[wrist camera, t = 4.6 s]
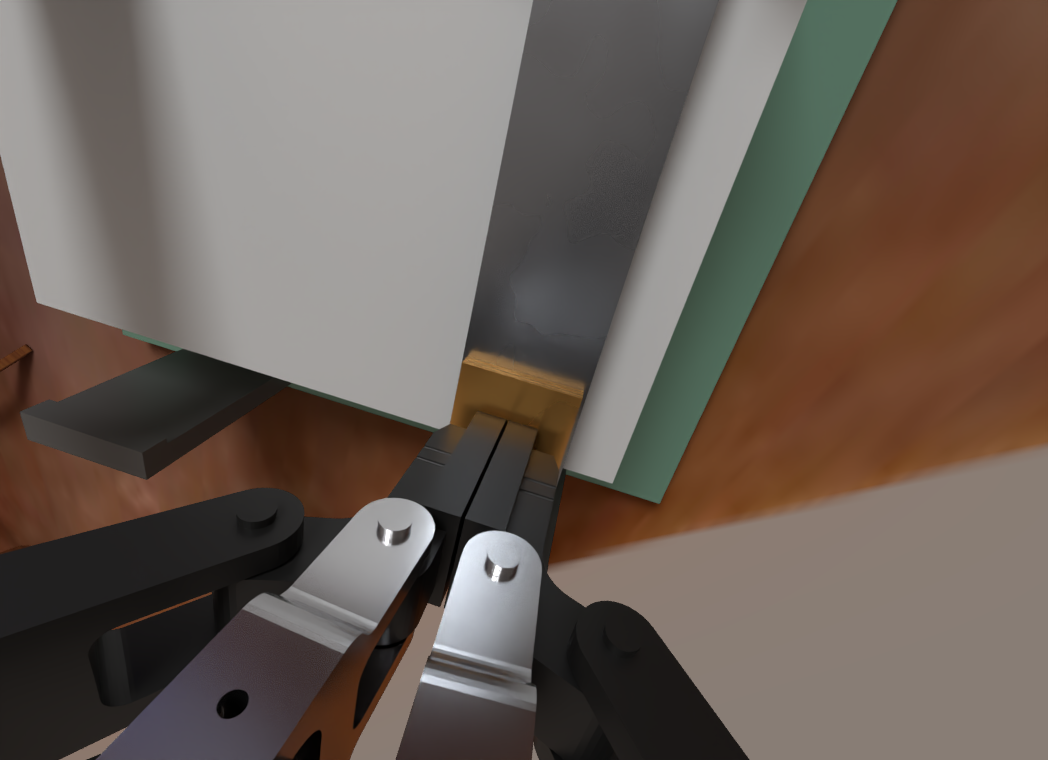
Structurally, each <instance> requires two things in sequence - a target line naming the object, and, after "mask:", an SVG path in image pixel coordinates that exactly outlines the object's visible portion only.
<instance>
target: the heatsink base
mask: <svg viewBox="0 0 1048 760" xmlns="http://www.w3.org/2000/svg"><path fill="white" fill-rule="evenodd" d="M896 2H897V0H719V2H718V5H717V8H716V11H715V14H714V17H713V20H712V23H711V26H710V29H709V32H708V35H707V38H706V41H705V44H704V47H703V50H702V53H701V56H700V59H699V62H698V65H697V68H696V71H695V74H694V77H693V80H692V83H691V86H690V89H689V92H688V95H687V98H686V101H685V104H684V107H683V110H682V113H681V115H680V118H679V121H678V124H677V127H676V130H675V133H674V136H673V139H672V142H671V145H670V148H669V151H668V154H667V157H666V160H665V163H664V166H663V169H662V172H661V175H660V178H659V181H658V184H657V187H656V190H655V193H654V196H653V199H652V202H651V205H650V208H649V211H648V214H647V217H646V220H645V223H644V226H643V229H642V232H641V235H640V238H639V241H638V244H637V247H636V250H635V253H634V256H633V259H632V262H631V265H630V268H629V271H628V274H627V277H626V280H625V283H624V286H623V289H622V292H621V295H620V298H619V301H618V304H617V307H616V310H615V313H614V316H613V319H612V322H611V325H610V328H609V331H608V334H607V337H606V340H605V343H604V346H603V349H602V352H601V355H600V358H599V361H598V364H597V367H596V370H595V373H594V376H593V379H592V382H591V385H590V388H589V391H588V394H587V397H586V400H585V403H584V406H583V409H582V412H581V415H580V418H579V421H578V424H577V427H576V430H575V433H574V436H573V439H572V442H571V445H570V448H569V451H568V454H567V457H566V460H565V463H564V466H563V469H562V472H561V475H560V478H559V481H558V484H557V487H556V491H555V496H554V500H553V505H552V510H551V515H550V520H549V524H548V529H547V534H546V539H545V544H544V548H543V563H544V567H545V570H546V572H547V570H548V561H549V556H550V551H551V546H552V541H553V536H554V531H555V526H556V521H557V516H558V511H559V505H560V500H561V495H562V490H563V485H564V480H565V475H570V476H573V477H576V478H579V479H582V480H585V481H589V482H592V483H595V484H598V485H601V486H604V487H608V488H611V489H614V490H617V491H620V492H623V493H627V494H630V495H633V496H636V497H639V498H642V499H646V500H649V501H652V502H655V503H658V504H660V502H661V499H662V497H663V495H664V493H665V491H666V489H667V487H668V485H669V482H670V480H671V478H672V476H673V474H674V472H675V470H676V468H677V466H678V463H679V461H680V459H681V457H682V455H683V453H684V451H685V449H686V447H687V444H688V442H689V440H690V438H691V436H692V434H693V432H694V430H695V427H696V425H697V423H698V421H699V419H700V417H701V415H702V413H703V411H704V408H705V406H706V404H707V402H708V400H709V398H710V396H711V394H712V392H713V389H714V387H715V385H716V383H717V381H718V379H719V377H720V375H721V372H722V370H723V368H724V366H725V364H726V362H727V360H728V358H729V356H730V353H731V351H732V349H733V347H734V345H735V343H736V341H737V339H738V337H739V334H740V332H741V330H742V328H743V326H744V324H745V322H746V320H747V317H748V315H749V313H750V311H751V309H752V307H753V305H754V303H755V301H756V298H757V296H758V294H759V292H760V290H761V288H762V286H763V284H764V282H765V279H766V277H767V275H768V273H769V271H770V269H771V267H772V265H773V262H774V260H775V258H776V256H777V254H778V252H779V250H780V248H781V246H782V243H783V241H784V239H785V237H786V235H787V233H788V231H789V229H790V227H791V224H792V222H793V220H794V218H795V216H796V214H797V212H798V210H799V207H800V205H801V203H802V201H803V199H804V197H805V195H806V193H807V191H808V188H809V186H810V184H811V182H812V180H813V178H814V176H815V174H816V172H817V169H818V167H819V165H820V163H821V161H822V159H823V157H824V155H825V152H826V150H827V148H828V146H829V144H830V142H831V140H832V138H833V136H834V133H835V131H836V129H837V127H838V125H839V123H840V121H841V119H842V117H843V114H844V112H845V110H846V108H847V106H848V104H849V102H850V100H851V97H852V95H853V93H854V91H855V89H856V87H857V85H858V83H859V81H860V78H861V76H862V74H863V72H864V70H865V68H866V66H867V64H868V62H869V59H870V57H871V55H872V53H873V51H874V49H875V47H876V45H877V42H878V40H879V38H880V36H881V34H882V32H883V30H884V28H885V26H886V23H887V21H888V19H889V17H890V15H891V13H892V11H893V9H894V7H895V4H896ZM532 3H533V0H0V155H1V159H2V163H3V167H4V171H5V175H6V179H7V183H8V187H9V191H10V195H11V200H12V204H13V208H14V212H15V216H16V220H17V224H18V228H19V232H20V236H21V240H22V244H23V248H24V252H25V256H26V260H27V264H28V268H29V272H30V276H31V280H32V285H33V289H34V293H35V297H36V301H37V303H40V304H43V305H46V306H50V307H53V308H56V309H59V310H62V311H66V312H69V313H72V314H75V315H78V316H81V317H85V318H88V319H91V320H94V321H97V322H100V323H104V324H107V325H110V326H113V327H116V328H120V329H122V332H123V335H126V336H129V337H133V338H136V339H139V340H142V341H145V342H148V343H152V344H155V345H158V346H161V347H164V348H167V349H171V350H174V351H176V352H174V353H172V354H169V355H167V356H165V357H162V358H160V359H158V360H155V361H153V362H151V363H148V364H146V365H143V366H141V367H139V368H136V369H134V370H132V371H129V372H127V373H125V374H122V375H120V376H118V377H115V378H113V379H111V380H108V381H106V382H104V383H101V384H99V385H97V386H94V387H92V388H89V389H87V390H85V391H82V392H80V393H78V394H75V395H73V396H71V397H68V398H66V399H64V400H61V401H59V402H55V401H52V400H47V401H45V402H42V403H40V404H37V405H35V406H32V407H30V408H28V409H25V410H23V411H20V414H21V418H22V421H23V425H24V428H25V431H26V435H27V438H28V440H31V441H34V442H37V443H40V444H43V445H46V446H49V447H52V448H54V449H57V450H60V451H63V452H66V453H69V454H72V455H75V456H78V457H81V458H84V459H87V460H90V461H93V462H96V463H99V464H102V465H105V466H107V467H110V468H113V469H116V470H119V471H122V472H125V473H128V474H131V475H134V476H137V477H140V478H143V479H146V480H147V479H149V478H150V477H152V476H153V475H155V474H156V473H158V472H159V471H161V470H162V469H164V468H165V467H167V466H168V465H170V464H171V463H173V462H174V461H176V460H177V459H179V458H180V457H182V456H183V455H185V454H186V453H188V452H189V451H191V450H192V449H194V448H195V447H197V446H198V445H200V444H201V443H203V442H204V441H206V440H207V439H209V438H210V437H212V436H213V435H215V434H216V433H218V432H219V431H221V430H222V429H224V428H225V427H227V426H228V425H230V424H231V423H233V422H234V421H236V420H237V419H239V418H240V417H242V416H243V415H245V414H246V413H248V412H249V411H251V410H252V409H254V408H255V407H257V406H258V405H260V404H261V403H263V402H264V401H266V400H267V399H269V398H270V397H272V396H273V395H275V394H276V393H278V392H279V391H281V390H282V389H284V388H285V387H287V386H288V387H291V388H294V389H297V390H300V391H304V392H307V393H310V394H313V395H316V396H319V397H323V398H326V399H329V400H332V401H335V402H338V403H342V404H345V405H348V406H351V407H354V408H357V409H361V410H364V411H367V412H370V413H373V414H376V415H380V416H383V417H386V418H389V419H392V420H395V421H399V422H402V423H405V424H408V425H411V426H414V427H418V428H421V429H424V430H427V431H430V432H433V433H434V432H435V431H437V430H439V429H441V428H443V427H445V426H447V425H449V424H450V420H451V415H452V410H453V405H454V400H455V394H456V389H457V384H458V379H459V374H460V369H461V364H462V359H463V354H464V349H465V344H466V339H467V334H468V328H469V323H470V318H471V313H472V308H473V303H474V298H475V293H476V288H477V283H478V278H479V273H480V268H481V262H482V257H483V252H484V247H485V242H486V237H487V232H488V227H489V222H490V217H491V212H492V207H493V201H494V196H495V191H496V186H497V181H498V176H499V171H500V166H501V161H502V156H503V151H504V146H505V141H506V135H507V130H508V125H509V120H510V115H511V110H512V105H513V100H514V95H515V90H516V85H517V80H518V74H519V69H520V64H521V59H522V54H523V49H524V44H525V39H526V34H527V29H528V24H529V19H530V14H531V8H532Z"/></svg>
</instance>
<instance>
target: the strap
mask: <svg viewBox="0 0 1048 760" xmlns="http://www.w3.org/2000/svg"><path fill="white" fill-rule="evenodd" d="M718 2H719V0H533V3H532V8H531V14H530V19H529V24H528V29H527V34H526V39H525V44H524V49H523V54H522V59H521V64H520V69H519V74H518V80H517V85H516V90H515V95H514V100H513V105H512V110H511V115H510V120H509V125H508V130H507V135H506V141H505V146H504V151H503V156H502V161H501V166H500V171H499V176H498V181H497V186H496V191H495V196H494V201H493V207H492V212H491V217H490V222H489V227H488V232H487V237H486V242H485V247H484V252H483V257H482V262H481V268H480V273H479V278H478V283H477V288H476V293H475V298H474V303H473V308H472V313H471V318H470V323H469V328H468V334H467V339H466V344H465V349H464V354H463V359H462V364H461V369H460V374H459V379H458V384H457V389H456V394H455V400H454V405H453V410H452V415H451V420H450V424H453V425H456V426H459V427H462V428H465V429H467V427H468V426H469V424H470V422H471V420H472V419H473V417H474V415H475V414H476V412H477V411H481V412H484V413H487V414H491V415H494V416H497V417H500V418H503V419H507V423H506V426H507V424H508V422H509V420H510V421H514V422H517V423H520V424H523V425H527V426H530V427H533V428H536V429H538V432H537V435H536V439H535V442H534V446H533V450H536V451H539V452H543V453H546V454H549V455H552V456H554V458H555V461H556V463H557V466H558V469H559V471H560V472H559V477H558V481H559V478H560V475H561V472H562V469H563V466H564V463H565V460H566V457H567V454H568V451H569V448H570V445H571V442H572V439H573V436H574V433H575V430H576V427H577V424H578V421H579V418H580V415H581V412H582V409H583V406H584V403H585V400H586V397H587V394H588V391H589V388H590V385H591V382H592V379H593V376H594V373H595V370H596V367H597V364H598V361H599V358H600V355H601V352H602V349H603V346H604V343H605V340H606V337H607V334H608V331H609V328H610V325H611V322H612V319H613V316H614V313H615V310H616V307H617V304H618V301H619V298H620V295H621V292H622V289H623V286H624V283H625V280H626V277H627V274H628V271H629V268H630V265H631V262H632V259H633V256H634V253H635V250H636V247H637V244H638V241H639V238H640V235H641V232H642V229H643V226H644V223H645V220H646V217H647V214H648V211H649V208H650V205H651V202H652V199H653V196H654V193H655V190H656V187H657V184H658V181H659V178H660V175H661V172H662V169H663V166H664V163H665V160H666V157H667V154H668V151H669V148H670V145H671V142H672V139H673V136H674V133H675V130H676V127H677V124H678V121H679V118H680V115H681V113H682V110H683V107H684V104H685V101H686V98H687V95H688V92H689V89H690V86H691V83H692V80H693V77H694V74H695V71H696V68H697V65H698V62H699V59H700V56H701V53H702V50H703V47H704V44H705V41H706V38H707V35H708V32H709V29H710V26H711V23H712V20H713V17H714V14H715V11H716V8H717V5H718ZM505 428H506V427H505ZM558 481H557V484H558ZM556 487H557V486H556Z"/></svg>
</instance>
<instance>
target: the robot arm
mask: <svg viewBox="0 0 1048 760" xmlns="http://www.w3.org/2000/svg"><path fill="white" fill-rule="evenodd" d="M506 423H507V419H503V418H500V417H497V416H494V415H491V414H487V413H484V412H481V411H477V412H476V414H475V415H474V417H473V419H472V420H471V422H470V424H469V426H468V427H467V429H465V428H462V427H459V426H456V425H453V424H449V425H447V426H445V427H443V428H441V429H439V430H437V431H435V432H434V433H433V434H432V436H431V437H430V439H429V440H428V441H427V443H426V444H425V446H424V448H422V450H421V451H420V453H419V454H418V455H417V458H416V459H415V460H414V461H413V462H412V464H411V465H410V467H409V468H408V469H407V471H406V472H405V474H404V475H403V476H402V478H401V479H400V481H399V482H398V484H397V485H396V486H395V488H394V489H393V491H392V492H391V493H390V495H389V496H388V498H385V499H380V500H377V501H374V502H372V503H369V504H368V505H366V506H365V507H363V508H362V509H361V510H360V511H359V512H358V513H357V514H356V515H355V516H354V517H353V518H344V519H333V518H316V517H304V507H303V505H302V503H301V502H300V500H299V499H298V498H297V497H296V496H294V495H293V494H291V493H289V492H286V491H284V490H280V489H275V488H256V489H250V490H245V491H241V492H237V493H233V494H230V495H226V496H222V497H218V498H214V499H210V500H206V501H203V502H199V503H195V504H191V505H187V506H183V507H180V508H176V509H172V510H168V511H164V512H160V513H157V514H153V515H149V516H145V517H141V518H137V519H134V520H130V521H126V522H122V523H118V524H114V525H110V526H107V527H103V528H99V529H95V530H91V531H87V532H84V533H80V534H76V535H72V536H68V537H64V538H61V539H57V540H53V541H49V542H45V543H41V544H38V545H34V546H30V547H26V548H22V549H18V550H15V551H11V552H7V553H3V554H0V760H59V759H61V758H63V757H66V756H68V755H70V754H72V753H74V752H76V751H78V750H80V749H82V748H84V747H86V746H88V745H90V744H93V743H95V742H97V741H99V740H101V739H103V738H105V737H107V736H109V735H111V734H113V733H115V732H117V731H120V730H121V729H123V728H126V727H127V728H126V729H125V730H124V731H123V732H122V733H121V734H120V735H119V736H118V737H117V738H116V739H115V740H114V741H113V742H112V743H111V744H110V745H109V746H108V747H107V748H106V750H105V751H104V752H103V753H102V754H99V755H97V756H94V757H92V758H90V759H87V760H350V758H351V755H352V753H353V750H354V748H355V746H356V743H357V741H358V739H359V737H360V735H361V733H362V732H363V730H364V728H365V726H366V724H367V722H368V721H369V719H370V717H371V715H372V713H373V711H374V709H375V708H376V705H377V704H378V702H379V700H380V698H381V696H382V694H383V693H384V691H385V689H386V687H387V685H388V683H389V682H390V680H391V678H392V676H393V674H394V672H395V670H396V668H397V667H398V665H399V663H400V661H401V659H402V657H403V656H404V654H405V652H406V650H407V648H408V646H409V644H410V643H411V640H412V638H413V634H414V630H415V628H416V627H417V625H418V623H419V621H420V619H421V617H422V614H423V612H424V610H425V608H426V606H427V603H430V604H432V605H435V606H438V607H440V606H441V603H442V601H443V599H444V596H445V594H446V591H447V589H448V592H447V596H446V601H445V605H444V608H445V610H444V613H443V617H442V620H441V623H440V626H439V629H438V633H437V636H436V639H435V642H434V646H433V649H432V652H431V655H430V656H429V657H428V660H427V662H426V665H425V668H424V671H423V674H422V677H421V680H420V683H419V686H418V690H417V693H416V696H415V699H414V702H413V706H412V709H411V712H410V715H409V718H408V722H407V725H406V728H405V731H404V734H403V738H402V741H401V744H400V747H399V750H398V753H397V757H396V760H532V750H533V742H534V746H535V750H536V753H537V756H538V758H539V760H749V759H748V757H747V756H746V755H745V753H744V752H743V750H742V749H741V748H740V746H739V745H738V743H737V742H736V741H735V740H734V738H733V737H732V735H731V734H730V733H729V731H728V730H727V728H726V727H725V726H724V724H723V723H722V721H721V720H720V719H719V717H718V716H717V715H716V713H715V712H714V710H713V709H712V708H711V706H710V705H709V704H708V702H707V701H706V700H705V698H704V697H703V695H702V694H701V693H700V691H699V690H698V689H697V687H696V686H695V685H694V683H693V682H692V680H691V679H690V678H689V676H688V675H687V674H686V672H685V671H684V669H683V668H682V667H681V665H680V664H679V663H678V661H677V660H676V658H675V657H674V656H673V654H672V653H671V652H670V650H669V649H668V647H667V646H666V645H665V643H664V642H663V641H662V639H661V638H660V637H659V635H658V634H657V632H656V631H655V630H654V628H653V627H652V626H651V625H650V623H649V622H648V621H647V620H646V619H645V618H644V617H643V616H642V615H640V614H639V613H638V612H636V611H635V610H633V609H631V608H630V607H628V606H625V605H623V604H620V603H617V602H612V601H600V602H595V603H592V604H590V605H589V606H587V607H586V608H585V607H584V606H582V605H581V604H579V603H578V602H576V601H575V600H573V599H572V598H570V597H569V596H568V595H566V594H565V593H563V592H562V591H561V590H560V589H559V588H558V587H557V586H556V585H555V584H554V583H553V581H552V580H551V579H550V577H549V576H548V574H547V572H546V570H545V567H544V563H543V548H544V544H545V539H546V534H547V529H548V524H549V520H550V515H551V510H552V505H553V500H554V496H555V491H556V486H557V481H558V477H559V472H560V471H559V469H558V466H557V463H556V461H555V458H554V456H552V455H549V454H546V453H543V452H539V451H536V450H533V446H534V442H535V439H536V435H537V432H538V429H536V428H533V427H530V426H527V425H523V424H520V423H517V422H514V421H510V420H509V422H508V424H507V426H506ZM505 427H506V428H505ZM448 587H449V588H448ZM209 592H212V594H211V595H209V596H206V597H203V598H201V599H198V600H195V601H193V602H190V603H187V604H185V605H182V606H179V607H177V608H174V609H171V610H169V611H166V612H163V613H161V614H158V615H155V616H153V617H150V618H147V619H144V620H142V621H139V622H136V623H134V624H131V625H128V626H126V627H123V628H120V629H115V630H111V629H113V628H115V627H118V626H120V625H123V624H126V623H128V622H131V621H134V620H136V619H139V618H142V617H144V616H147V615H150V614H153V613H155V612H158V611H161V610H163V609H166V608H169V607H171V606H174V605H177V604H180V603H182V602H185V601H188V600H190V599H193V598H196V597H198V596H201V595H204V594H207V593H209Z"/></svg>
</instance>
